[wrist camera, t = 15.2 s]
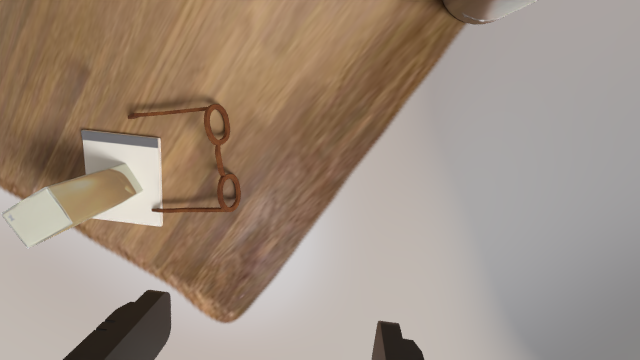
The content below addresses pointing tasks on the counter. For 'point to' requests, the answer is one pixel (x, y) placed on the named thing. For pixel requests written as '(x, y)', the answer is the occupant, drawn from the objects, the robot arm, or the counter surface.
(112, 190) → the skincare box
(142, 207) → the board
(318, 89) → the counter surface
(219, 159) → the glasses
